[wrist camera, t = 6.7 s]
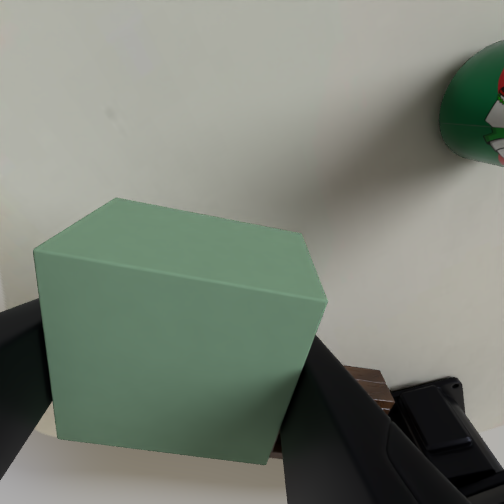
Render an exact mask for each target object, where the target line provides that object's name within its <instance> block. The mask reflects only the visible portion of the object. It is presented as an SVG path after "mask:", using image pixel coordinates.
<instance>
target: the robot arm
mask: <svg viewBox="0 0 504 504" xmlns="http://www.w3.org/2000/svg"><path fill="white" fill-rule="evenodd" d="M391 395H392V397H393V399H394V401H395V403H394V405H393V406H392V408H391V409H390V411H389V413H388V415H387V414H386V413H385V412H384V411H383V410H382V408H381V407H380V406H379V405H378V404H377V403H376V402H375V401H374V400H373V398H372V397H371V396H370V395H369V394H368V393H367V392H366V391H365V389H364V388H363V387H362V386H361V385H360V384H359V383H358V382H357V381H356V379H355V378H354V377H353V376H352V375H351V374H350V373H349V372H348V370H347V369H346V368H345V367H344V366H343V365H342V364H341V363H340V362H339V360H338V359H337V358H336V357H335V356H334V355H333V354H332V353H331V352H330V350H329V349H328V348H327V347H326V346H325V345H324V344H323V343H322V341H321V340H320V339H319V338H318V337H317V336H316V335H315V337H314V340H313V342H312V345H311V348H310V350H309V353H308V355H307V358H306V361H305V363H304V366H303V369H302V371H301V374H300V377H299V379H298V382H297V384H296V387H295V390H294V392H293V395H292V398H291V400H290V403H289V406H288V408H287V411H286V414H285V416H284V419H283V421H282V424H281V427H280V436H281V445H282V455H283V464H284V474H285V484H286V493H287V503H288V504H504V469H503V468H502V466H501V465H500V463H499V462H498V461H497V459H496V458H495V456H494V455H493V453H492V452H491V451H490V449H489V448H488V446H487V445H486V443H485V442H484V441H483V439H482V438H481V436H480V435H479V433H478V432H477V431H476V429H475V428H474V426H473V425H472V423H471V422H470V420H469V419H468V418H467V416H466V415H465V407H464V398H463V388H462V383H461V382H460V381H459V379H458V378H455V377H453V378H448V379H444V380H440V381H436V382H432V383H428V384H424V385H420V386H416V387H412V388H408V389H404V390H400V391H396V392H392V393H391ZM52 401H53V400H52V393H51V385H50V377H49V370H48V362H47V355H46V347H45V339H44V332H43V324H42V316H41V309H40V301H39V298H38V299H35V300H32V301H30V302H27V303H24V304H22V305H19V306H16V307H14V308H11V309H8V310H6V311H3V312H0V480H1V478H2V477H3V476H4V474H5V472H6V471H7V469H8V468H9V466H10V465H11V463H12V462H13V460H14V459H15V457H16V455H17V454H18V453H19V451H20V450H21V448H22V446H23V445H24V443H25V442H26V440H27V439H28V437H29V436H30V434H31V433H32V431H33V430H34V428H35V427H36V425H37V424H38V422H39V421H40V419H41V417H42V416H43V414H44V413H45V411H46V410H47V408H48V407H49V405H50V404H51V402H52Z"/></svg>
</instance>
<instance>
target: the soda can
mask: <svg viewBox="0 0 504 504" xmlns="http://www.w3.org/2000/svg"><path fill="white" fill-rule="evenodd" d="M439 125H440V131H441V135H442V138H443V140H444V142H445V143H446V145H447V146H448V147H449V149H450V150H451V151H453V152H454V153H455V154H457V155H459V156H461V157H463V158H467V159H471V160H475V161H480V162H484V163H488V164H492V165H497V166H501V167H504V40H503V41H499V42H496V43H494V44H492V45H489V46H487V47H485V48H484V49H482V50H481V51H479V52H477V53H476V54H475V55H474V56H472V57H471V58H470V59H469V60H468V61H467V62H466V63H465V64H464V65H463V66H462V67H461V68H460V69H459V71H458V72H457V73H456V74H455V76H454V77H453V79H452V81H451V82H450V84H449V85H448V88H447V90H446V92H445V94H444V97H443V100H442V103H441V108H440V114H439Z"/></svg>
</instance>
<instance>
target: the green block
mask: <svg viewBox="0 0 504 504" xmlns="http://www.w3.org/2000/svg"><path fill="white" fill-rule="evenodd" d="M33 255H34V263H35V270H36V278H37V286H38V293H39V301H40V309H41V316H42V324H43V332H44V339H45V347H46V355H47V362H48V370H49V377H50V385H51V393H52V400H53V408H54V416H55V423H56V431H57V438H58V439H61V440H62V439H63V440H69V441H78V442H85V443H93V444H101V445H109V446H117V447H125V448H133V449H141V450H149V451H157V452H165V453H173V454H180V455H188V456H196V457H204V458H212V459H221V460H228V461H237V462H244V463H253V464H260V465H266V464H267V461H268V458H269V456H270V453H271V451H272V448H273V445H274V443H275V440H276V437H277V435H278V432H279V429H280V427H281V424H282V421H283V419H284V416H285V414H286V411H287V408H288V406H289V403H290V400H291V398H292V395H293V392H294V390H295V387H296V384H297V382H298V379H299V377H300V374H301V371H302V369H303V366H304V363H305V361H306V358H307V355H308V353H309V350H310V348H311V345H312V342H313V340H314V337H315V334H316V332H317V329H318V326H319V324H320V321H321V318H322V316H323V313H324V311H325V308H326V305H327V303H328V300H327V297H326V295H325V292H324V290H323V287H322V285H321V282H320V280H319V277H318V274H317V272H316V269H315V267H314V264H313V262H312V259H311V257H310V254H309V251H308V249H307V246H306V244H305V241H304V239H303V236H302V234H301V233H296V232H291V231H286V230H281V229H276V228H270V227H265V226H260V225H255V224H250V223H245V222H239V221H234V220H229V219H224V218H219V217H214V216H208V215H203V214H198V213H193V212H188V211H182V210H177V209H172V208H167V207H162V206H157V205H151V204H146V203H141V202H136V201H131V200H126V199H120V198H114V199H113V200H111V201H110V202H108V203H106V204H105V205H103V206H102V207H100V208H98V209H97V210H95V211H94V212H92V213H90V214H89V215H87V216H86V217H84V218H82V219H81V220H79V221H78V222H76V223H74V224H73V225H71V226H70V227H68V228H66V229H65V230H63V231H62V232H60V233H58V234H57V235H55V236H54V237H52V238H50V239H49V240H47V241H46V242H44V243H42V244H41V245H39V246H38V247H36V248H34V250H33Z"/></svg>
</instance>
